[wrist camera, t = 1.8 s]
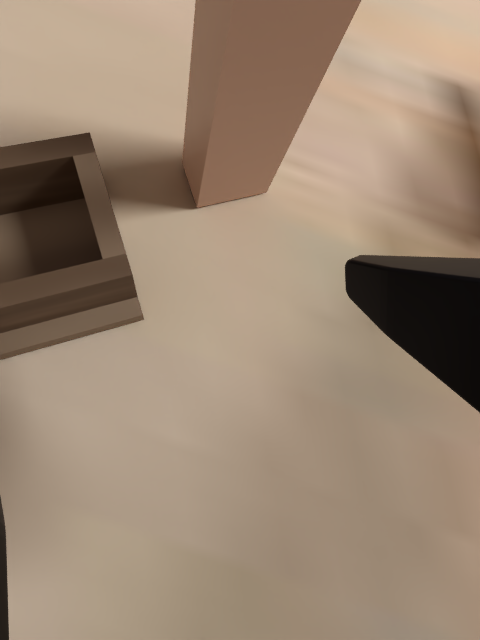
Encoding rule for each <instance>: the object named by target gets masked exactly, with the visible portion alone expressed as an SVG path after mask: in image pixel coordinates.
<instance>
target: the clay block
mask: <svg viewBox="0 0 480 640" xmlns="http://www.w3.org/2000/svg"><path fill="white" fill-rule="evenodd" d="M360 2H361V0H196V3H195V15H194V27H193V39H192V51H191V63H190V75H189V87H188V99H187V111H186V123H185V135H184V148H183V160H182V164H183V167H184V170H185V173H186V176H187V179H188V182H189V185H190V188H191V191H192V194H193V197H194V200H195V203H196V206H197V208H199V207H203V206H208V205H212V204H217V203H221V202H226V201H230V200H235V199H239V198H244V197H248V196H253V195H257V194H262V193H266V192H267V190H268V188H269V186H270V184H271V182H272V180H273V178H274V176H275V174H276V172H277V170H278V168H279V166H280V164H281V162H282V160H283V158H284V156H285V154H286V152H287V150H288V148H289V146H290V144H291V142H292V140H293V138H294V136H295V134H296V132H297V130H298V127H299V125H300V123H301V121H302V119H303V117H304V115H305V113H306V111H307V109H308V107H309V105H310V103H311V101H312V99H313V97H314V95H315V93H316V91H317V89H318V87H319V85H320V83H321V81H322V79H323V77H324V75H325V73H326V71H327V69H328V67H329V65H330V63H331V61H332V59H333V57H334V54H335V52H336V50H337V48H338V46H339V44H340V42H341V40H342V38H343V36H344V34H345V32H346V30H347V28H348V26H349V24H350V22H351V20H352V18H353V16H354V14H355V12H356V10H357V8H358V6H359V4H360Z"/></svg>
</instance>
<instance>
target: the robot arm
mask: <svg viewBox="0 0 480 640" xmlns="http://www.w3.org/2000/svg"><path fill="white" fill-rule="evenodd" d="M345 281H346V292H347V294H348V296H349V298H350V299H351V300H352V301H353V302H354V303H355V304H356V305H357V306H358V307H359V308H360V309H361V310H362V311H363V312H364V313H365V314H366V315H367V316H368V317H369V318H370V319H371V320H372V321H373V322H374V323H375V324H376V325H377V326H378V327H379V328H380V329H381V330H382V331H383V332H384V333H385V334H386V335H387V336H388V337H389V338H390V339H391V340H393V341H394V342H395V343H396V344H397V345H399V346H400V347H401V348H402V349H403V350H405V351H406V352H407V353H408V354H410V355H411V356H412V357H413V358H414V359H416V360H417V361H418V362H419V363H420V364H422V365H423V366H424V367H425V368H426V369H428V370H429V371H430V372H431V373H433V374H434V375H435V376H436V377H437V378H439V379H440V380H441V381H442V382H443V383H445V384H446V385H447V386H448V387H449V388H451V389H452V390H453V391H454V392H456V393H457V394H458V395H459V396H460V397H462V398H463V399H464V400H465V401H466V402H468V403H469V404H470V405H471V406H472V407H474V408H475V409H476V410H477V411H479V412H480V259H479V258H445V257H411V256H378V255H359V256H357V257H354V258H352V259H350V260H348V261H347V262H346V264H345ZM0 640H9V624H8V589H7V554H6V530H5V522H4V515H3V509H2V503H1V497H0Z"/></svg>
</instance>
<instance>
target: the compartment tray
mask: <svg viewBox="0 0 480 640" xmlns="http://www.w3.org/2000/svg"><path fill="white" fill-rule="evenodd" d="M140 320H144V318H143V314H142V310H141V307H140V304H139V300H138V297H137V293H136V288H135V284H134V280H133V275H132V272H131V269H130V265H129V262H128V259H127V255H126V252H125V249H124V245H123V242H122V239H121V235H120V232H119V229H118V225H117V222H116V219H115V215H114V212H113V209H112V205H111V202H110V199H109V195H108V192H107V189H106V185H105V182H104V179H103V175H102V172H101V169H100V165H99V162H98V159H97V155H96V152H95V149H94V145H93V142H92V139H91V136H90V133H84V134H78V135H72V136H66V137H60V138H54V139H48V140H42V141H36V142H30V143H24V144H18V145H12V146H6V147H0V360H1V359H5V358H8V357H12V356H15V355H19V354H23V353H26V352H30V351H33V350H37V349H40V348H44V347H47V346H51V345H55V344H58V343H62V342H65V341H69V340H72V339H76V338H80V337H83V336H87V335H90V334H94V333H97V332H101V331H105V330H108V329H112V328H115V327H119V326H122V325H126V324H129V323H133V322H137V321H140Z"/></svg>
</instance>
